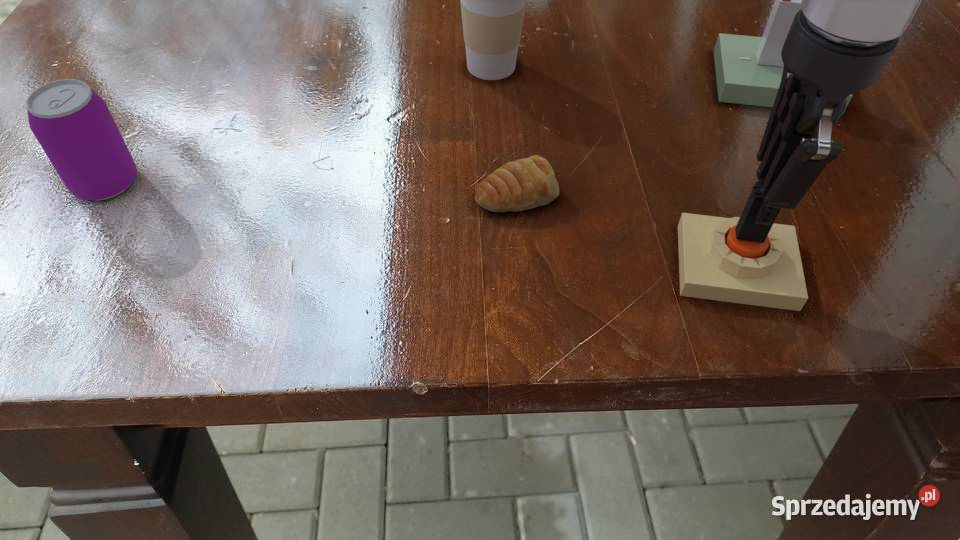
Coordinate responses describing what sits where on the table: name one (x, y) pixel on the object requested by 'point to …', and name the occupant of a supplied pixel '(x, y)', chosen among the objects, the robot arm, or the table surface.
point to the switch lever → (777, 32)
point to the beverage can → (80, 139)
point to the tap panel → (745, 72)
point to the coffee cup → (492, 36)
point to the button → (746, 246)
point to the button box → (739, 265)
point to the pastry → (518, 186)
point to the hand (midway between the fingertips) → (749, 235)
